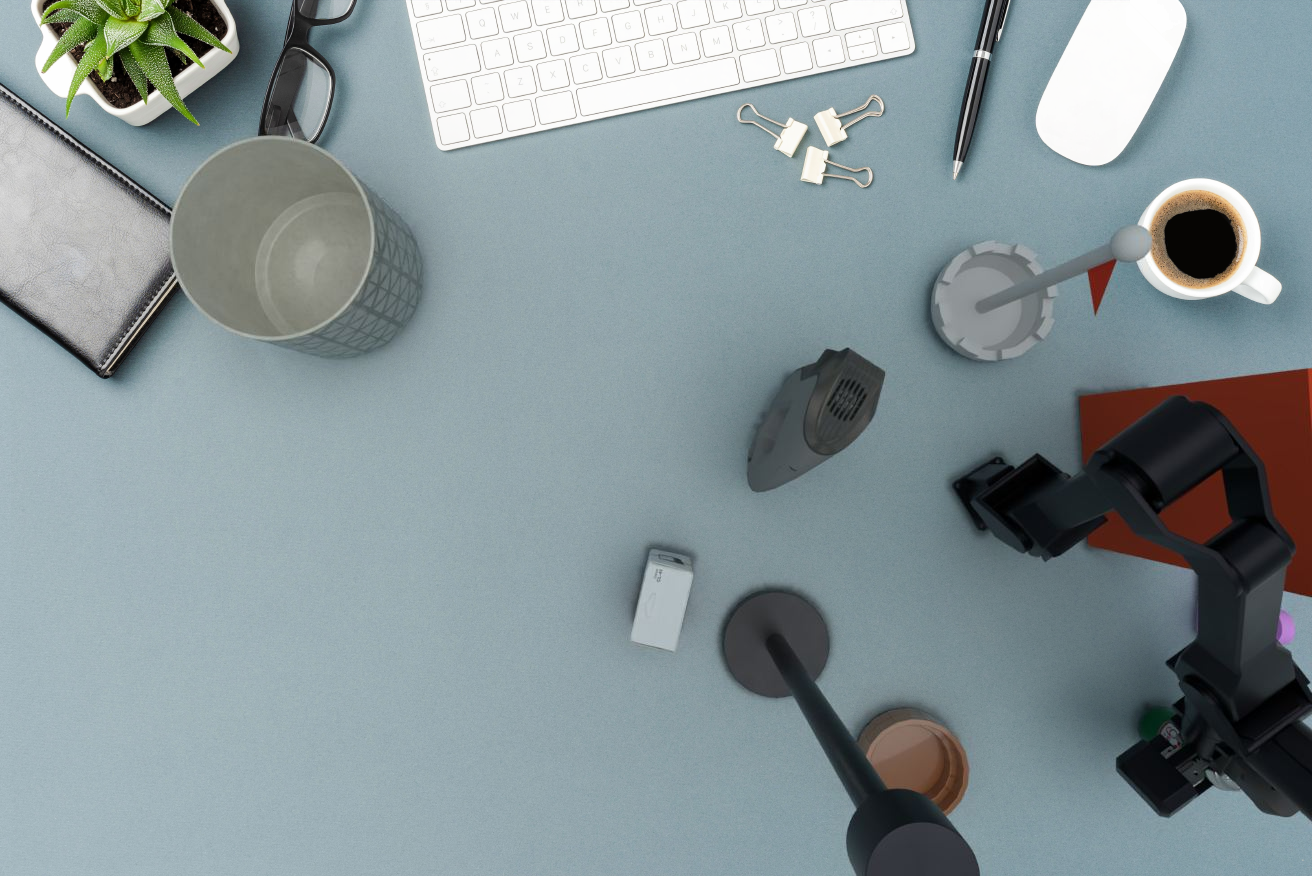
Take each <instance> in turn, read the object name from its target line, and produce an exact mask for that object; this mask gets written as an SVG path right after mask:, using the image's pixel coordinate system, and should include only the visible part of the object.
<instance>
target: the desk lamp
mask: <svg viewBox="0 0 1312 876" xmlns="http://www.w3.org/2000/svg"><path fill="white" fill-rule="evenodd" d="M826 625H827V624H826V623H825V621H824V619H823V617H822V616H821V614H820V613H819V612H818V610H817V609H816V607H814V606H813V605H812V604H811V603H810V602H809V601H808V600H807V599H805V598H804V597H802V596H800V595H799V594H797V593H794V592H791V591H788V590H785V589H784V590H783V589H766V590H761V591H758V592H755V593H753V594H751V595H748V596H747V597H745V598H744V599H742V600H741V601H740V602H739V603H738V604H737V605H736V606H735V607H734V608H733V610H732V611H731V612H730V614H729V616H728V617H727V619H726V622H725V625H724V627H723V632H722V651H723V655H724V659H725V662H726V665H727V667H728V670H729V671H730V672H731V674H732V676H733V677H734V678H735V680H737V682H738V683H739V684H740V685H741V686H742V687H744V688H745V689H746V690H748V691H750V692H751V693H754V694H755V695H758V696H762V697H765V698H770V699H771V698H773V699H779V698H787V697H788V698H789V697H791V696H792V697H793V698H794V700H795V703H796V704H797V705H798V707H799V709H800V711H801V712H802V715H803V716H804V718H805V720H806V722H807V724H808V725H809V727H810V730H812V733H813V734H814V737H815V738H816V740H817V742H818V743H819V745H820V747H821V749H822V750H823V752H824V754H825V756H826V757H827V759H828V761H829V763H830V764H831V766H832V768H833V770H834V772H835V774H836V775H837V777H838V779H839V781H840V783H841V784H842V786H843V788H844V789H845V791H846V793H847V795H848V796H849V799H850V800H851V802H852V804H853V806H854V807H855V811H854V813H853V814H852V816H851V819H850V821H849V823H848V825H847V829H846V835H845V837H846V838H845V847H846V853H847V857H848V860H849V863H850V866H851V867H852V870H853V871H854V873H855V875H856V876H981V870H980V866H979V862H978V860H977V857H976V855H975V853H974V851H973V848H972V847H971V846H970V845H969V843H968V842H967V841H966V839H965V838H964V837H963V836H962V834H961V833H960V832H959V831H958V829H957V828H956V827H955V825H954V824H953V823H952V822H951V821H950V819H949V817H947V816H946V815H945V814H944V813H943V812H942V810H941V809H940V808H939V807H938V806H937V805H936V804H935V803H934V802H933V801H932V800H931V799H929V798H928V797H926V796H925V795H923V794H921V793H919V792H916V791H913V790H909V789H899V788H897V789H888V788H887V786H886V785H885V783H884V782H883V781H882V779H881V778H880V776H879V775H878V773H877V772H876V770H875V769H874V767H873V766H872V765H871V763H870V762H869V760H868V759H867V757H866V756H865V754H864V753H863V751H862V750H861V749H860V747H859V746H858V744H857V743H858V742H856V740H855V738H854V737H853V735H852V734H851V732H850V731H849V730H848V728H847V727H846V725H845V724H844V722H843V720H841V717H840V716H839V715H838V713H837V711H836V710H835V709H834V708H833V706H832V705H831V703H830V702H829V700H828V699H827V697H826V696H825V694H824V693H823V691H822V690H821V689H820V686H818V684H817V683H816V681H817V679H818V678H819V677H820V676H821V674H822V672H823V671H824V668H825V667H826V665H827V661H828V659H829V654H830V653H829V652H830V637H829V631H828V628H827V626H826Z"/></svg>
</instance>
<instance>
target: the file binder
mask: <svg viewBox="0 0 1312 876" xmlns="http://www.w3.org/2000/svg"><path fill="white" fill-rule="evenodd" d="M1175 395H1182V396H1187V397H1188V399H1189V401H1190V402H1192V401H1202V402H1205V403H1208V404H1210V405H1212V406H1213V407H1215V408H1217V409H1218V410H1220V411H1221V412H1222V413H1223V414H1224V415H1225V416H1226V417H1227V418H1228V420H1229V421H1230V422H1231V423H1232V424H1233V426H1234V427H1235V428H1236V429H1237V431H1238V432H1239V433H1240V434H1241V436H1242V437H1243V438H1244V439H1245V441H1246V442H1247V443H1248V444H1249V445H1250V447H1251V448H1252V449H1253V450H1254V452H1255V453H1256V454H1257V455H1258V457H1259V458H1260V459H1261V460H1262V461H1263V463H1264V466H1265V469H1266V475H1267V481H1268V487H1269V493H1270V499H1271V504H1272V510H1273V515H1274V517H1275V518H1276V519H1277V520H1278V522H1279V523H1280V524H1281V525H1282V527H1283V528H1284V529H1285V530H1286V532H1287V533H1288V534H1289V535H1290V536H1291V538H1292V540H1293V541H1294V543H1295V544H1296V550H1297V552H1296V553H1295V555H1294V556H1292V562H1291V563H1290V564H1289V565H1288V566H1287V570H1286V577H1285V583H1284V590H1283V592H1286V593H1290V594H1294V595H1298V596H1303V597H1307V598H1312V367H1307V368H1298V369H1291V370H1281V371H1275V372H1266V373H1257V374H1250V375H1249V374H1247V375H1241V376H1233V377H1225V378H1224V377H1223V378H1216V379H1208V380H1199V381H1191V382H1184V383H1183V382H1182V383H1174V384H1167V385H1158V386H1150V387H1142V388H1133V389H1127V390H1119V391H1109V392H1101V393H1092V394H1085V395H1079V396H1078V401H1079V415H1080V417H1079V419H1080V432H1081V433H1080V435H1081V450H1082V466H1083V468H1082V470H1083V469H1084V466H1085V464H1086V463H1087V461H1088V460H1089V458H1090V456H1091V455H1092V453H1093V452H1094V451H1096V450H1097V449H1099V448H1100V447H1101V446H1103V445H1104V444H1105V443H1107V442H1108V441H1109V440H1111V439H1112V438H1114V437H1115V436H1116V435H1118V434H1119V433H1120V432H1122V431H1123V430H1125V429H1126V428H1127V427H1129V426H1130V425H1131V424H1133V423H1134V422H1135V421H1137V420H1138V419H1140V418H1141V417H1142V416H1144V415H1145V414H1146V413H1148V412H1149V411H1151V410H1152V409H1153V408H1155V407H1156V406H1157V405H1159V404H1160V403H1161V402H1163V401H1164V400H1166V399H1167V398H1168V397H1172V396H1175ZM1104 516H1105V517H1107V518H1108V521H1107V522H1106V523H1105V524H1103V525H1102V526H1100V527H1099V528H1098V529H1096V530H1095V531H1094V532H1092V533H1091V534H1090V535H1088V536H1087V537H1086V538H1087V546H1088V547H1091V548H1092V547H1093V548H1096V549H1100V550H1101V549H1102V550H1106V551H1109V552H1112V553H1113V552H1114V553H1118V554H1123V555H1127V556H1131V557H1135V558H1140V559H1144V560H1148V561H1153V562H1156V563H1162V564H1164V565H1165V564H1166V565H1170V566H1173V567H1178V568H1182V569H1187V570H1190V571H1194V570H1193V569H1192V568H1191V567H1190V565H1189V564H1188V563H1187V562H1186V560H1185V559H1184V558H1183V556H1182V555H1180V554H1179V553H1176V552H1174V551H1172V550H1169V549H1167V548H1165V547H1162V546H1160V545H1158V544H1155V543H1153V542H1151V541H1148V540H1146V539H1144V538H1141V537H1139V536H1137V535H1136V534H1135V533H1133V532H1132V530H1131V529H1130V528H1129V526H1128V525H1127V524H1126V523H1125V521H1124V520H1123V519H1122V518H1121V516H1120V515H1119V514H1118V512H1117V511H1116V510H1114V511H1111V512H1109V513H1106V514H1104ZM1158 517H1159V518H1160V519H1161V520H1162V522H1163V523H1164V524H1165V526H1166V527H1167V528H1168V529H1169V530H1170V531H1171V532H1173V533H1175V534H1178V535H1180V536H1182V537H1185V538H1187V539H1189V540H1192V541H1194V542H1196V543H1199V544H1201V545H1202V544H1204V543H1205V542H1206V541H1208V540H1209V539H1210V538H1212V537H1213V536H1214V535H1216V534H1217V533H1219V532H1220V531H1221V530H1223V529H1224V528H1225V527H1227V526H1228V525H1229V524H1231V523H1232V522H1233V521H1232V520H1231V518H1230V515H1229V512H1228V506H1227V500H1226V494H1225V488H1224V482H1223V476H1222V470H1221V469H1220V470H1219V471H1217V472H1216V473H1215V474H1213V475H1212V476H1211V477H1209V478H1208V479H1206V480H1205V481H1204V482H1202V483H1201V484H1200V485H1198V486H1197V487H1195V488H1194V489H1193V490H1191V491H1190V492H1189V493H1187V494H1186V495H1184V496H1183V497H1182V498H1180V499H1179V500H1178V501H1176V502H1175V503H1173V504H1172V505H1171V506H1169V507H1168V508H1167V509H1165V510H1164V511H1162V512H1161V513H1160V514H1158Z"/></svg>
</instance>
